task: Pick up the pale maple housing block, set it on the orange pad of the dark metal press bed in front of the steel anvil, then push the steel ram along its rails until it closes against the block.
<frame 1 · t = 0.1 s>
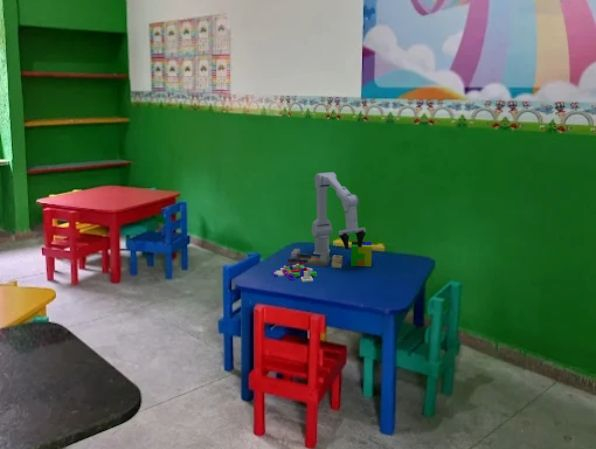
hand: (353, 248, 301), 10 cm above the table, tool pointing down, fingers open, 7 cm apart
housing: (337, 266, 307), on the table
press bed: (309, 262, 314), on the table
building block set: (293, 275, 296), on the table
ram: (295, 254, 315), point 4 cm above the table, slide at 0.0 cm
puzzle toy: (361, 263, 313), on the table
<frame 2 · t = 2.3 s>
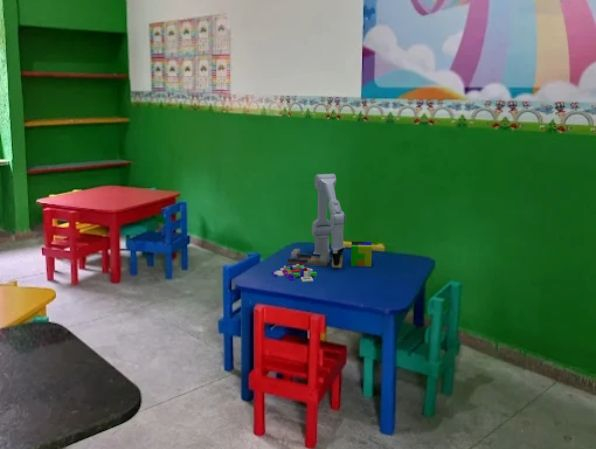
hand: (337, 263, 307), 1 cm above the table, tool pointing down, fingers closed on housing, 4 cm apart
housing: (337, 266, 307), on the table, touching gripper
everything else where it was.
when the fingers open (4 cm above the table, at t = 5.8 s): housing stays where it is, resting on press bed.
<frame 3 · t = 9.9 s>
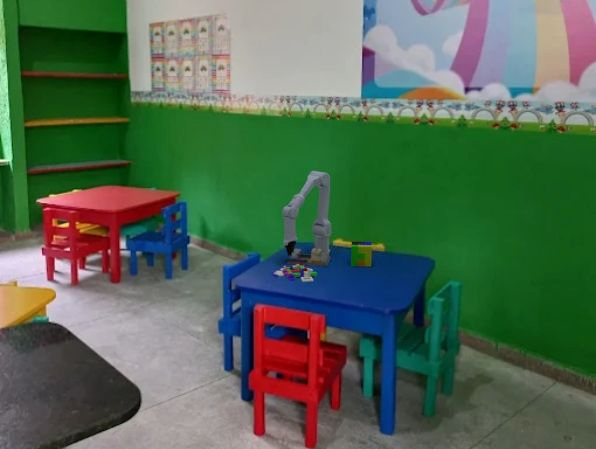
hand: (290, 255, 316), 3 cm above the table, tool pointing down, fingers closed
housing: (316, 259, 313), point 2 cm above the table, touching press bed
ram: (296, 254, 315), point 4 cm above the table, slide at 0.3 cm, touching gripper
everything else where it was.
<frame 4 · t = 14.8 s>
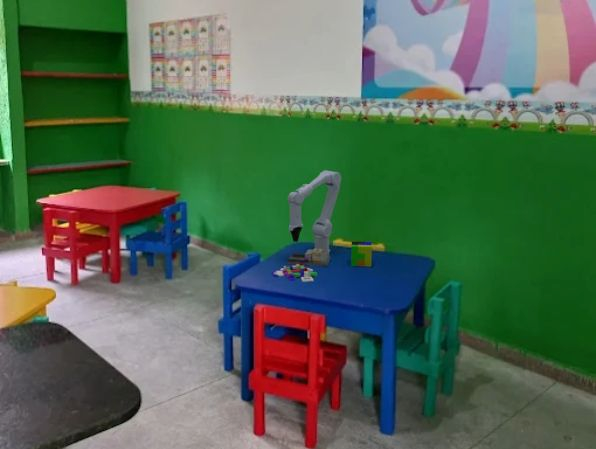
hand: (295, 241, 318), 9 cm above the table, tool pointing down, fingers closed
ram: (309, 255, 313), point 4 cm above the table, slide at 7.2 cm
everything else where it was.
at the end: ram slide at 7.2 cm; housing 0.4 cm from the target spot, point 1.6 cm above the table; housing tilted 0° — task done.
